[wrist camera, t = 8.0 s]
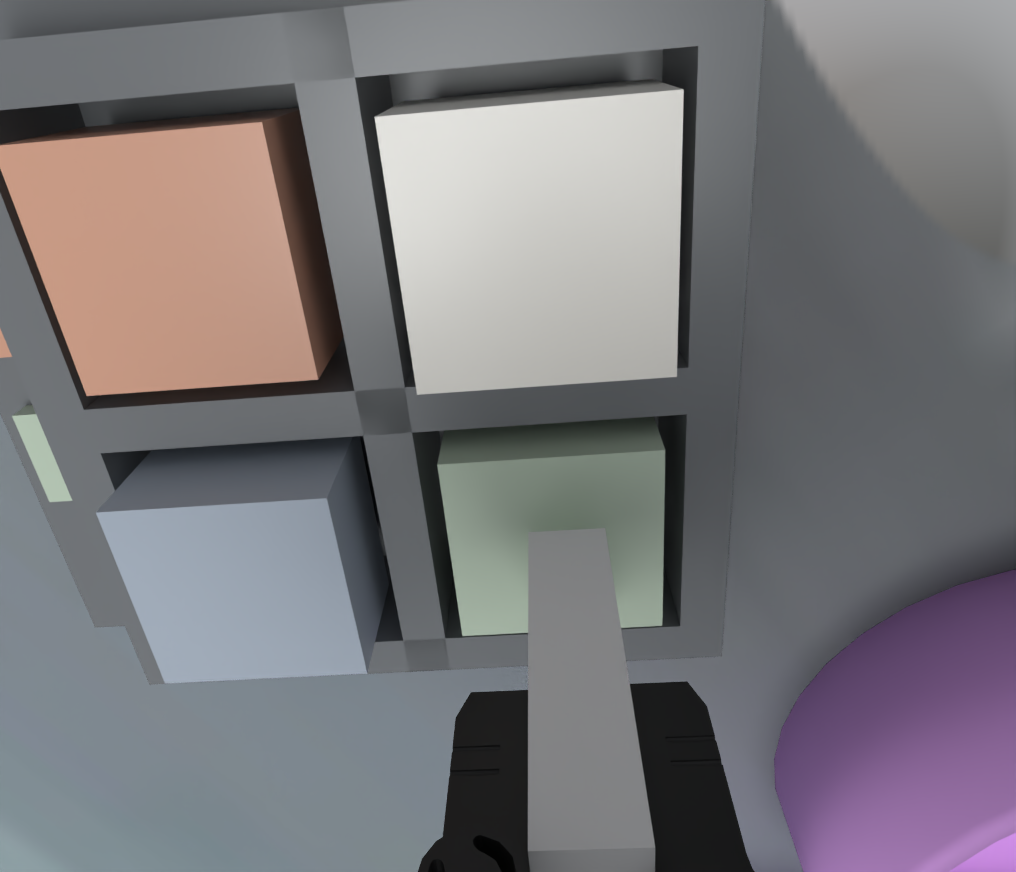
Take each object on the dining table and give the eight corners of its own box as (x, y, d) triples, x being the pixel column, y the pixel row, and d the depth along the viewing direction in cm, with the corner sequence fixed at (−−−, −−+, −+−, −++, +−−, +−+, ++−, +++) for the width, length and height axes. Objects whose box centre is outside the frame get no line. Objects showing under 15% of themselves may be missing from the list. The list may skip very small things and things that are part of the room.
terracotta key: (308, 106, 15) (261, 122, 12) (350, 325, 17) (318, 379, 14) (86, 127, 15) (-8, 146, 12) (154, 340, 17) (86, 395, 14)
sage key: (643, 387, 17) (665, 450, 15) (643, 545, 19) (662, 625, 17) (449, 400, 18) (437, 464, 15) (470, 555, 20) (462, 636, 17)
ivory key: (651, 78, 13) (683, 89, 11) (650, 318, 16) (677, 377, 13) (403, 101, 14) (374, 116, 11) (434, 335, 16) (416, 394, 13)
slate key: (357, 425, 17) (327, 498, 14) (389, 584, 19) (367, 673, 16) (162, 438, 17) (95, 512, 14) (214, 594, 19) (164, 683, 17)
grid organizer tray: (738, -82, 14) (807, -120, 11) (705, 580, 22) (740, 685, 18) (-156, 9, 15) (-358, 0, 12) (105, 613, 23) (28, 719, 19)
